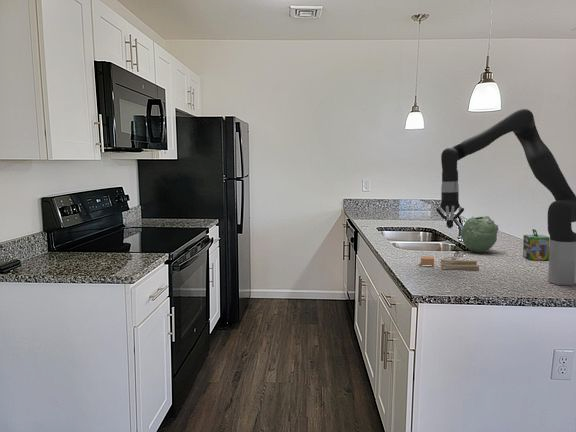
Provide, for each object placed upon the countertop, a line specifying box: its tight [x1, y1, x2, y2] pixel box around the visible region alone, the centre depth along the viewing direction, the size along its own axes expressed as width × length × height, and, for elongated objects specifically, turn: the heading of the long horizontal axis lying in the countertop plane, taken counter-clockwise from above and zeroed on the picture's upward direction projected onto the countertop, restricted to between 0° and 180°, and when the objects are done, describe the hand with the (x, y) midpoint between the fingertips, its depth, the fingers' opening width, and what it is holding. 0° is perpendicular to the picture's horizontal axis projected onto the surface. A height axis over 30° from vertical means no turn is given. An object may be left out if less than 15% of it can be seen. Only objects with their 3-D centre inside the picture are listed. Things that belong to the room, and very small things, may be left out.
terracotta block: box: [420, 255, 435, 267], centre depth 201 cm, size 6×6×4 cm
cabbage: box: [460, 215, 499, 254], centre depth 224 cm, size 16×19×20 cm
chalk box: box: [522, 228, 550, 261], centre depth 206 cm, size 9×9×15 cm
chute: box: [440, 258, 480, 272], centre depth 195 cm, size 12×16×2 cm
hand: (449, 227), depth 194 cm, fingers closed
